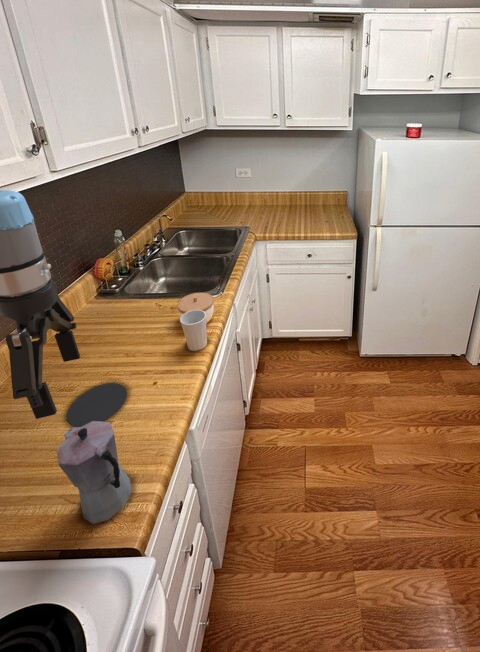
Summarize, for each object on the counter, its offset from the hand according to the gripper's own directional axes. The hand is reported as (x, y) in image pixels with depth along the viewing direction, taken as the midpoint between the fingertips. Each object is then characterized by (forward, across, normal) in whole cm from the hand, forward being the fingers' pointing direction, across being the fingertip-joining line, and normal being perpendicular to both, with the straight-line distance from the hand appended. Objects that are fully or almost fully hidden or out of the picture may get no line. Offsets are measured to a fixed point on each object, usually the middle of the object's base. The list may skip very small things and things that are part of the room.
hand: (60, 384), depth 62 cm
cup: (+29, +38, -22) cm, 53 cm away
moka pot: (+29, -5, -3) cm, 29 cm away
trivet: (+29, +22, +4) cm, 37 cm away
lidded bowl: (+29, +52, -22) cm, 63 cm away
